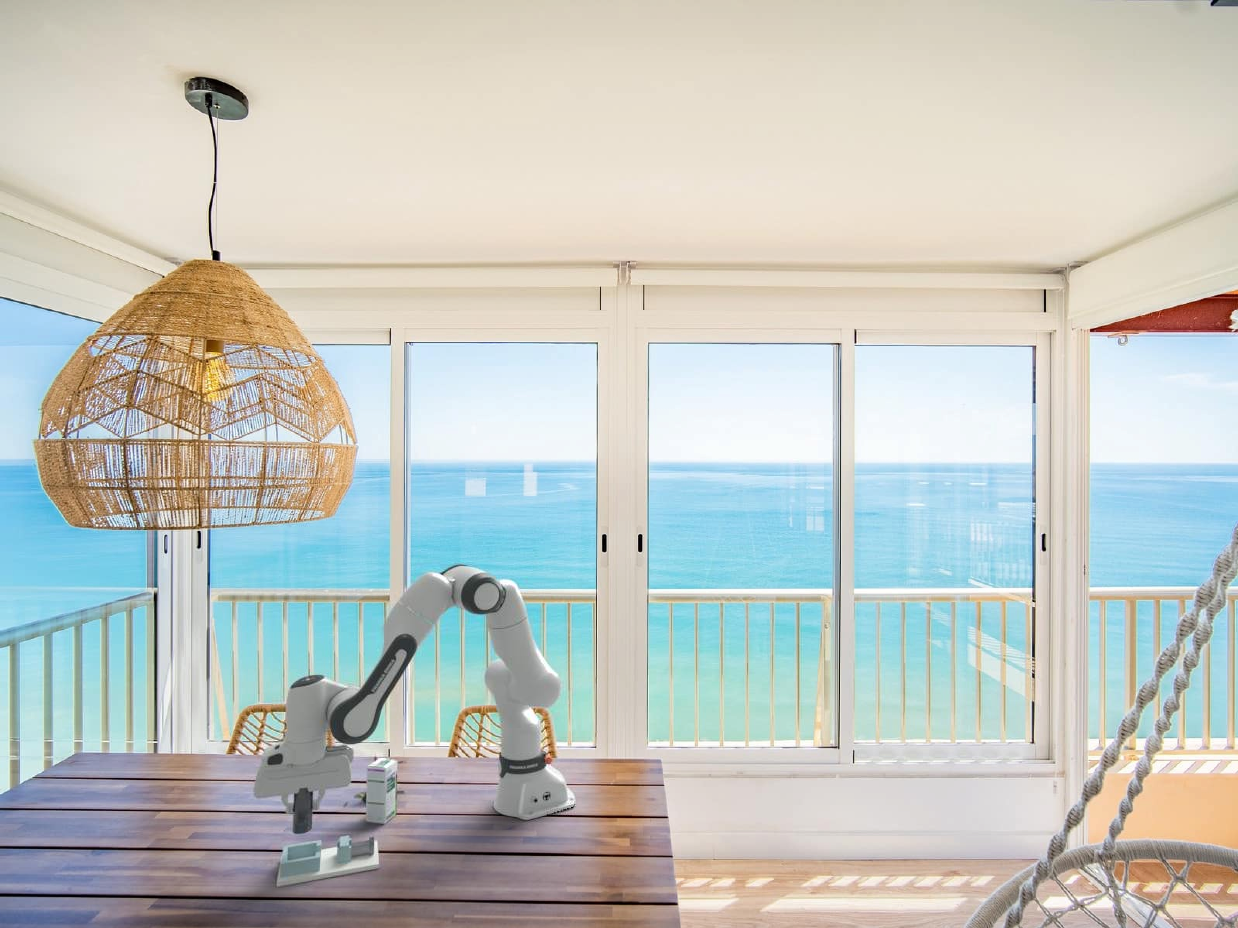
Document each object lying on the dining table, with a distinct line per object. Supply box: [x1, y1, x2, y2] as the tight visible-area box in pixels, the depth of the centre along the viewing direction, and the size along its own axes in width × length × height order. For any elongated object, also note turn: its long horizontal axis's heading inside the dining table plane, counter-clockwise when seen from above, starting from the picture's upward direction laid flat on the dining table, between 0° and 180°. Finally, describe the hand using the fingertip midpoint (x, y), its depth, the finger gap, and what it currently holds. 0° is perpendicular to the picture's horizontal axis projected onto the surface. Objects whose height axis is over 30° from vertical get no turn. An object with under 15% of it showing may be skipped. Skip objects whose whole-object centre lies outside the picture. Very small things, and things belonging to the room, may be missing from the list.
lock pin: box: [336, 836, 375, 857], centre depth 157 cm, size 8×3×3 cm, turn 112°
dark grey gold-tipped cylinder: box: [292, 788, 314, 835], centre depth 153 cm, size 4×4×12 cm
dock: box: [276, 835, 380, 888], centre depth 155 cm, size 21×11×5 cm, turn 112°
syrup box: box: [365, 757, 398, 825], centre depth 177 cm, size 6×6×14 cm
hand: (302, 810), depth 153 cm, fingers closed on dark grey gold-tipped cylinder, 4 cm apart
